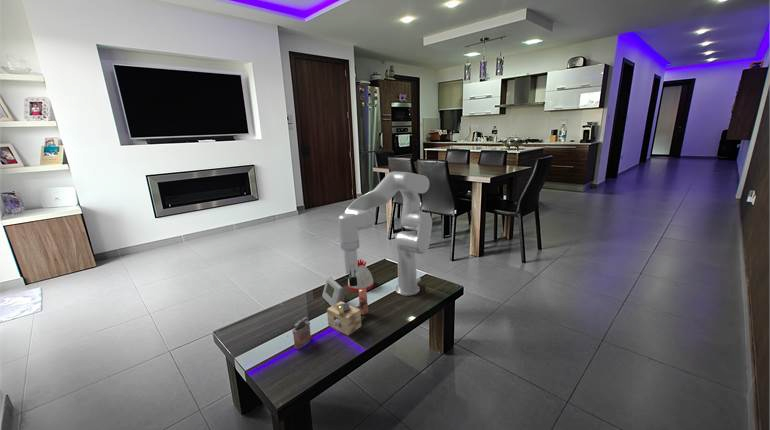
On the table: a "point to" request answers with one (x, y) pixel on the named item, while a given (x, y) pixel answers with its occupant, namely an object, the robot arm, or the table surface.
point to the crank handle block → (342, 309)
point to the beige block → (344, 319)
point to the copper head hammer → (362, 304)
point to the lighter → (301, 333)
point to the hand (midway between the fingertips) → (353, 285)
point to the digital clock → (333, 292)
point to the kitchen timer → (362, 278)
